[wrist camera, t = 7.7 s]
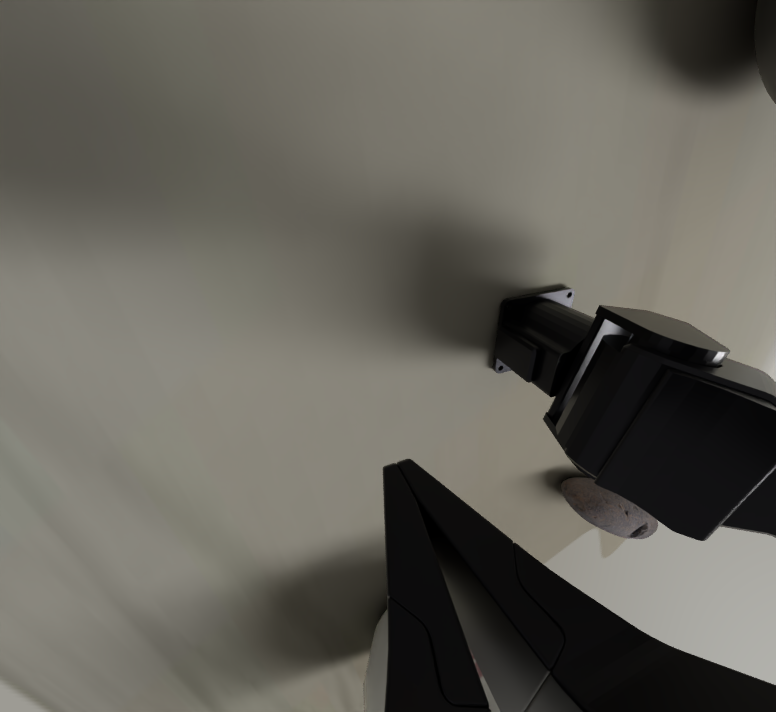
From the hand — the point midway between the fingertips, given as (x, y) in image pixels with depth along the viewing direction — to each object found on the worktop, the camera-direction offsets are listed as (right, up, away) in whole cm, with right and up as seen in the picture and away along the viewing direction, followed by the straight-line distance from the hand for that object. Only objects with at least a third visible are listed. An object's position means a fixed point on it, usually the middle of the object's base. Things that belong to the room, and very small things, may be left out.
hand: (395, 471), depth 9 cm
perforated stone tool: (+26, -14, +34) cm, 45 cm away
